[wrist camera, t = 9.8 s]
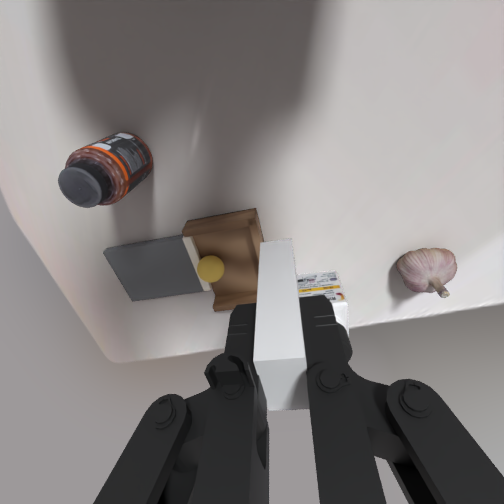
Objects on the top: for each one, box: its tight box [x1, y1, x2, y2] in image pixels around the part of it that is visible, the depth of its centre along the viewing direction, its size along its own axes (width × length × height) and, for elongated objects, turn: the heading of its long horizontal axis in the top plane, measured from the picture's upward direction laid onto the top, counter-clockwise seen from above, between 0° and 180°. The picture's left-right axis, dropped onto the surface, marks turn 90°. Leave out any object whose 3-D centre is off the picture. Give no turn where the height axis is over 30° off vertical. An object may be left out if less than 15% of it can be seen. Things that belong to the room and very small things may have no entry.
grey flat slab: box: [103, 235, 212, 301], centre depth 44 cm, size 10×14×1 cm
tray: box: [182, 208, 264, 312], centre depth 42 cm, size 15×10×3 cm, turn 13°
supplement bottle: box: [58, 132, 153, 208], centre depth 31 cm, size 6×6×11 cm
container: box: [297, 270, 352, 362], centre depth 40 cm, size 8×8×13 cm
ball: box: [197, 255, 224, 283], centre depth 42 cm, size 4×4×4 cm
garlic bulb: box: [397, 248, 457, 298], centre depth 38 cm, size 8×7×8 cm
